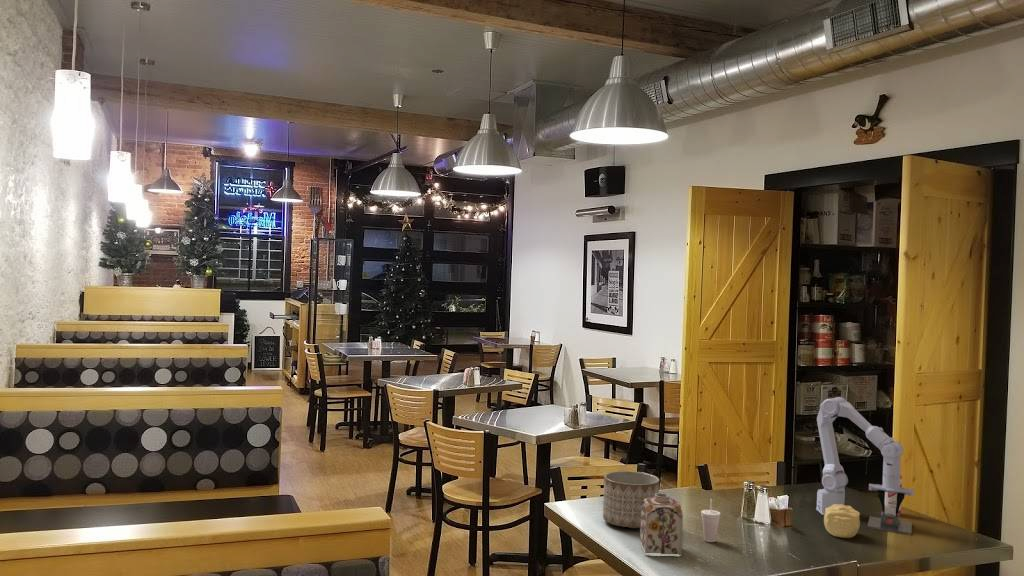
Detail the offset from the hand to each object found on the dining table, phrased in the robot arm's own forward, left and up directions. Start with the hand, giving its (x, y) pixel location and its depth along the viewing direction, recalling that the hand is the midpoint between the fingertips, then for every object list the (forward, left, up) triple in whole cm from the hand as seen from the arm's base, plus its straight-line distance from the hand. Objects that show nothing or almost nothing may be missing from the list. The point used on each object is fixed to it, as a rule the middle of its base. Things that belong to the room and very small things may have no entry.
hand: (890, 512), depth 279 cm
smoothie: (-70, -27, -5) cm, 75 cm away
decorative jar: (-88, -39, -5) cm, 96 cm away
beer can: (+8, +17, -5) cm, 20 cm away
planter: (-95, -12, -5) cm, 96 cm away
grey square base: (0, 0, -5) cm, 5 cm away
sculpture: (-22, -13, -5) cm, 26 cm away
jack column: (0, 0, -5) cm, 5 cm away
